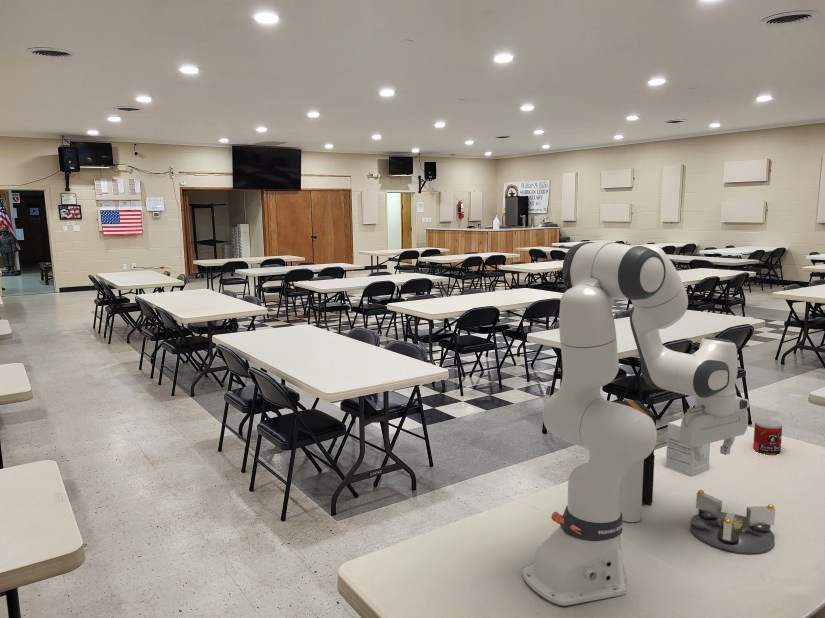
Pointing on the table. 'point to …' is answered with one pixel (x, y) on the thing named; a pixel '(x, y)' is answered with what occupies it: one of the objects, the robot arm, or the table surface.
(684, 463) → the supplement box
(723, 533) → the knob near
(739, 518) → the plate
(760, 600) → the table surface
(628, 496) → the paper towel roll
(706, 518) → the knob left
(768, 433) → the canned food
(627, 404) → the voltmeter
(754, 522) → the grey lever knob
